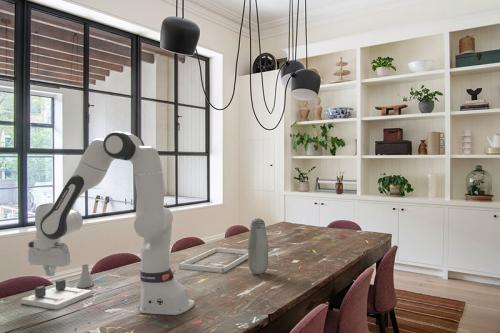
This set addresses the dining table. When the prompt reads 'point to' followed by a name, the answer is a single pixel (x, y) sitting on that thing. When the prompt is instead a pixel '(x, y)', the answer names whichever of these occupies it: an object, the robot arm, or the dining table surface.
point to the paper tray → (214, 269)
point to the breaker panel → (57, 298)
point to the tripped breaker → (40, 291)
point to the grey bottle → (258, 247)
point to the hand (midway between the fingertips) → (50, 275)
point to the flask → (85, 277)
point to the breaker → (60, 284)
